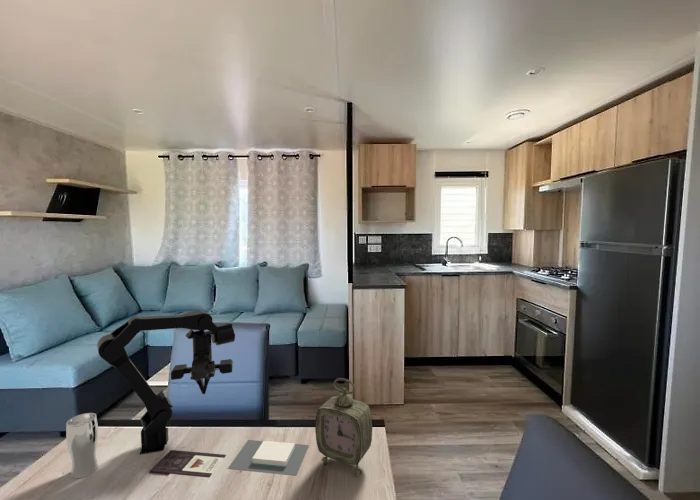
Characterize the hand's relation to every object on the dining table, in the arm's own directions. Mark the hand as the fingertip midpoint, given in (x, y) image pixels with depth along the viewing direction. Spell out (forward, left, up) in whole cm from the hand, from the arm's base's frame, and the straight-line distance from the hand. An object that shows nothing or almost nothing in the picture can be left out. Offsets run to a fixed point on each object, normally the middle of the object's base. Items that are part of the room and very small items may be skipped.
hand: (204, 393), depth 114 cm
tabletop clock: (+41, -31, -12) cm, 53 cm away
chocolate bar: (-2, -18, -13) cm, 22 cm away
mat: (+20, -22, -12) cm, 32 cm away
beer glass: (-30, -12, -12) cm, 35 cm away
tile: (+17, -20, -11) cm, 29 cm away
